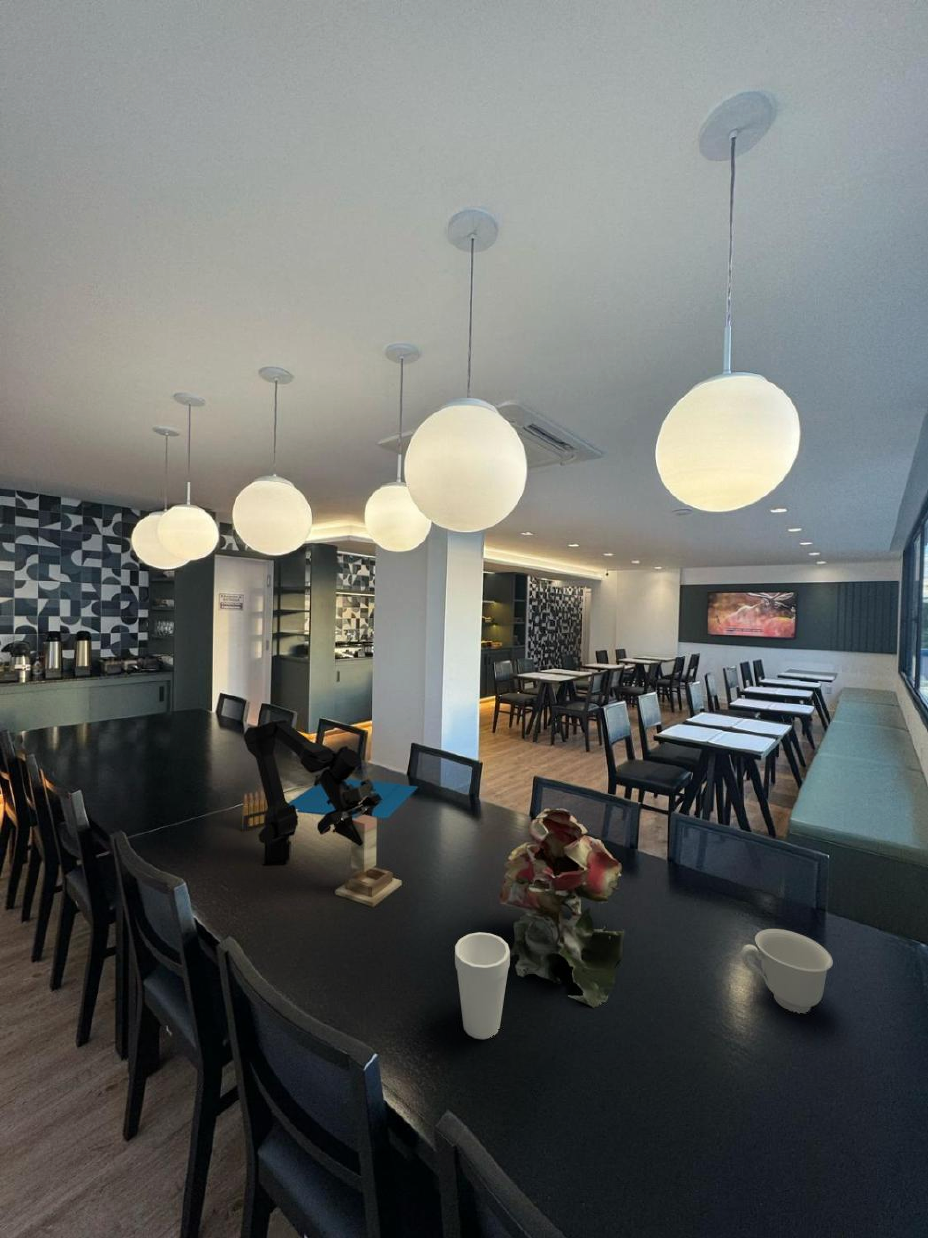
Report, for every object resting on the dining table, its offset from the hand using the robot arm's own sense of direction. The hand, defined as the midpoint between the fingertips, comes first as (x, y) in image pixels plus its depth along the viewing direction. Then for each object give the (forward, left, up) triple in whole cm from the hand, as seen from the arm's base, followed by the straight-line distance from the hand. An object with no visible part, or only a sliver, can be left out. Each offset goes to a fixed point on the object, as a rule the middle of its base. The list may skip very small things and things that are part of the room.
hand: (368, 841), depth 129 cm
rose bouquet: (+42, -25, -14) cm, 51 cm away
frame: (-11, +71, -14) cm, 74 cm away
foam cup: (+23, -44, -14) cm, 51 cm away
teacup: (+79, -44, -14) cm, 91 cm away
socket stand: (0, +3, -13) cm, 14 cm away
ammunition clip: (-39, +46, -14) cm, 62 cm away
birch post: (-1, +1, -7) cm, 7 cm away
